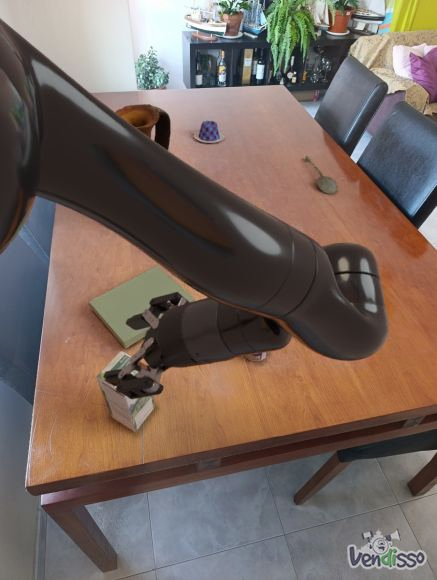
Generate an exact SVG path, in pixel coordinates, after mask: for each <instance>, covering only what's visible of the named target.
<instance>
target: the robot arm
mask: <svg viewBox="0 0 437 580" xmlns="http://www.w3.org/2000/svg"><path fill="white" fill-rule="evenodd" d="M115 112H116V111H114V110H113V109H112V108H110V107H109V106H107V105H106V104H105V103H104V102H102V101H101V100H100V99H98V98H97V97H96V96H94V95H93V94H92V93H91V92H90V91H88V90H87V89H86V88H85V87H84V86H82V85H81V84H80V83H79V82H78V81H76V79H74V78H73V77H71V76H70V75H69V74H68V73H67V72H66V71H64V70H63V69H62V67H59V66H58V65H57V64H56V63H55V62H53V60H51V59H50V58H49V57H48V56H46V55H45V54H44V53H43V52H42V51H40V49H38V48H37V47H36V46H35V45H33V44H32V43H31V42H30V41H28V39H26V38H25V37H23V36H22V35H21V34H20V33H19V32H18V31H16V30H15V29H14V28H13V27H11V25H9V24H8V23H7V22H6V21H4V20H3V19H2V18H0V256H1V255H2V254H3V253H4V252H5V251H6V250H7V248H8V247H9V246H10V245H11V244H12V242H14V240H15V239H16V238H17V236H18V235H19V233H20V232H21V230H22V229H23V227H24V225H25V223H26V222H27V221H28V218H29V217H30V214H31V212H32V210H33V208H34V204H35V200H36V198H37V197H38V198H41V199H44V200H47V201H49V202H53V203H55V204H58V205H60V206H62V207H64V208H67V209H69V210H72V211H74V212H76V213H78V214H80V215H82V216H84V217H87V218H88V219H90V220H92V221H94V222H96V223H98V224H99V225H101V226H103V227H104V228H106V229H108V230H109V231H111V232H113V233H114V234H116V235H117V236H119V237H120V238H122V239H123V240H125V241H126V242H128V243H129V244H131V245H132V246H133V247H134V248H137V249H138V250H139V251H141V252H142V253H143V254H144V255H146V256H148V258H150V259H151V260H152V261H154V262H155V263H156V264H157V265H158V266H160V267H162V269H164V270H165V271H167V272H169V273H170V274H171V275H173V276H174V277H175V278H176V279H178V280H179V281H181V282H182V283H184V285H187V286H188V287H190V288H191V289H193V290H194V291H196V292H198V293H199V294H201V295H203V296H205V298H200V299H197V300H195V301H194V302H189V301H188V300H187V299H185V298H184V297H183V296H182V295H181V294H180V293H179V292H174V293H170V294H167V295H163V296H159V297H155V298H152V299H151V300H150V302H149V304H150V305H151V306H150V308H149V309H146V310H144V311H143V313H140V314H137V315H134V316H133V317H131V318H128V319H127V321H126V325H128V326H129V327H131V328H132V329H133V330H140V329H144V328H147V327H150V329H149V330H147V332H146V335H145V337H144V340H143V342H142V343H141V345H140V348H139V350H137V351H136V352H135V353H134V354H133V355H132V356H131V358H130V363H129V364H128V365H127V366H126V367H125V368H123V369H117V370H111V371H106V372H105V373H104V376H103V377H104V378H105V379H106V380H105V381H106V382H108V383H110V384H111V385H113V386H117V387H116V391H117V392H119V393H122V394H123V395H125V396H127V397H128V398H130V399H137V398H142V397H148V396H153V397H154V396H158V395H161V394H162V393H163V391H164V390H165V389H164V385H163V384H162V383H161V382H160V381H161V378H162V375H163V373H164V372H166V371H167V370H169V369H171V368H179V369H181V368H183V369H184V368H190V367H196V366H197V367H198V366H203V365H212V364H216V363H223V362H228V361H231V360H234V359H237V358H241V357H245V356H247V355H253V354H259V353H265V352H268V353H270V352H276V351H280V350H282V349H284V348H287V346H288V345H289V344H290V343H291V341H292V339H294V340H296V341H297V342H298V343H300V344H301V345H302V346H304V347H305V348H306V349H309V350H310V351H311V352H313V353H315V354H316V355H319V356H321V357H324V358H327V359H331V360H334V361H341V362H354V361H361V360H365V359H367V358H370V357H372V356H374V355H375V354H376V353H378V352H379V351H380V350H381V349H382V348H383V347H384V345H385V344H386V341H387V340H388V336H389V331H390V329H389V327H390V326H389V325H390V324H389V318H388V312H387V308H386V302H385V295H384V291H383V284H382V278H381V273H380V272H381V271H380V267H379V262H378V259H377V256H376V255H375V254H374V253H373V252H372V251H371V250H370V249H369V248H367V247H366V246H364V245H362V244H358V243H353V242H334V243H330V244H325V245H323V246H322V245H321V244H320V243H319V242H318V241H316V240H315V239H313V238H312V237H311V236H309V235H307V234H306V233H304V232H302V231H301V230H299V229H297V228H295V226H294V227H293V226H292V225H290V224H289V223H287V222H285V221H283V220H282V219H280V218H278V217H276V216H275V215H272V214H271V213H270V212H268V211H265V210H264V209H262V208H261V207H258V206H257V205H255V204H253V203H251V202H250V201H248V200H246V199H245V198H243V197H241V196H240V195H238V194H236V193H235V192H233V191H231V190H229V189H228V188H226V187H224V186H223V185H221V184H219V183H218V182H217V181H215V180H213V179H212V178H211V177H208V176H207V175H206V174H204V173H203V172H201V171H199V170H198V169H197V168H195V167H193V166H191V165H190V164H189V163H187V162H186V161H184V160H183V159H181V158H180V157H178V156H177V155H175V154H174V153H173V152H171V151H169V149H168V150H166V149H165V148H163V147H162V146H160V145H159V144H158V143H156V142H155V141H154V139H152V137H151V138H149V137H148V136H146V135H145V134H143V133H142V132H141V131H139V130H138V129H137V128H135V127H134V126H133V125H131V124H130V123H129V122H127V121H126V120H125V119H123V118H122V117H121V116H119V115H118V114H117V113H115ZM160 314H163V315H162V316H161V318H159V316H160ZM142 360H144V362H146V363H147V364H145V363H144V362H142ZM134 370H136V371H138V373H136V374H135V375H132V374H131V372H133V371H134Z"/></svg>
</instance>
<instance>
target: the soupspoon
mask: <svg viewBox="0 0 437 580" xmlns="http://www.w3.org/2000/svg"><path fill="white" fill-rule="evenodd" d="M304 159H305V161H308V162H309V163H310V164H311V165H312V166H313V168H314V169H315V170H316V172H317V173H318V175H319V176H318V177H317V179H316V184H317V187H318V188H319V190H321V192H323V193H325V194H328V195H333V194H335V193H336V192H337V191H338V189H339V188H338V187H339V185H338V183H337V181H336V180H335V179H334V178H332V177H331V176H326V175H323V172H322V171H321V170H320V169H319V167H318V166H317V165H316V164H315V162H314V161H313V160H312V159H311V156H310V155H306V156H305V158H304Z"/></svg>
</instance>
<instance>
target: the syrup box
mask: <svg viewBox="0 0 437 580" xmlns="http://www.w3.org/2000/svg"><path fill="white" fill-rule="evenodd" d="M131 357H132V356H131V355H130V354H129V353H126V352H124V351H122V350H120V351H119V353H118V354H116V355H115V357H114V358H112V360H110V361H109V363H108V364H107V365H106V366H105V367H104V368H103V370H101V371H100V372H99V373H98V375H97V376H96V379H97V380H96V381H97V383H98V386H99V388H100V391H101V393H102V397H103V399H104V402H105V405H106V408H107V410H108V412H109V416H110V417H111V418H112V419H114V420H116V421H117V422H119V423H120V424H122V425H123V426H124V427H126V428H127V429H129V430H130V431H132V432H133V433H137V432H138V430H139V429H140V427H141V426H142V425H143V423H145V421H146V420H147V419H148V417H149V416H150V415H151V413H152V412H153V411H154V409H155V408H156V405H155V398H154V397H155V396H154V395H153V396H148V397H142V398H137V399H130V398H128V397H127V396H125V395H123V394H122V393H119V392H117V391H116V387H117V386H113V385H111V384H110V383H108V382H106V381H105V380H106V379H105V378H104V377H103V376H104V373H105V372H106V371H111V370H117V369H123V368H125V367H126V366H127V365H128V364H129V363H130V358H131ZM136 373H138V371H136V370H134V371H133V372H131V374H132V375H135V374H136Z"/></svg>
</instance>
